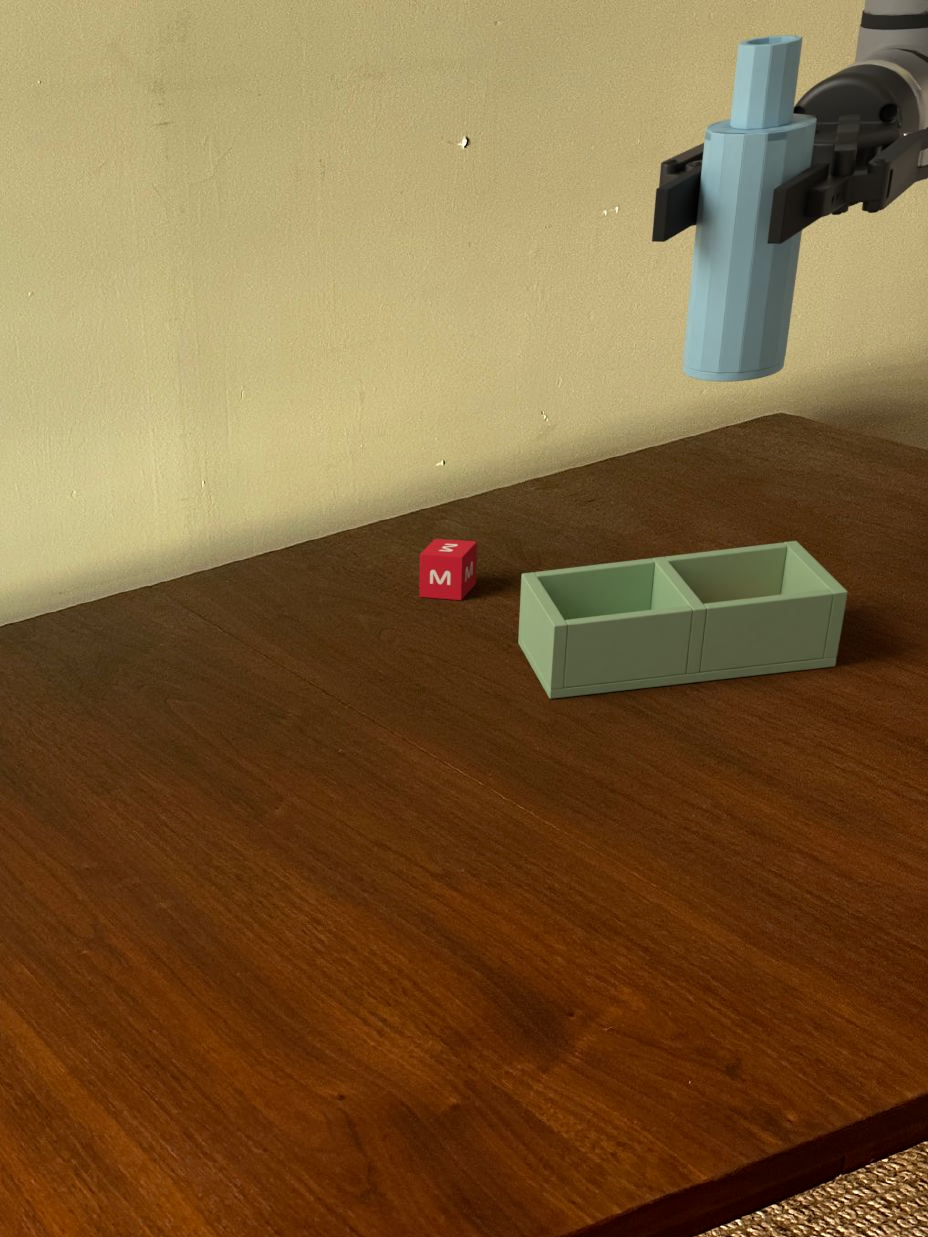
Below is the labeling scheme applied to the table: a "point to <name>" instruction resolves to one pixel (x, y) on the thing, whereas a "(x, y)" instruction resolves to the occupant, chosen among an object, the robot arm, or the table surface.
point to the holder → (680, 619)
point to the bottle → (747, 221)
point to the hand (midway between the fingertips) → (718, 215)
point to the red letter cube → (448, 569)
